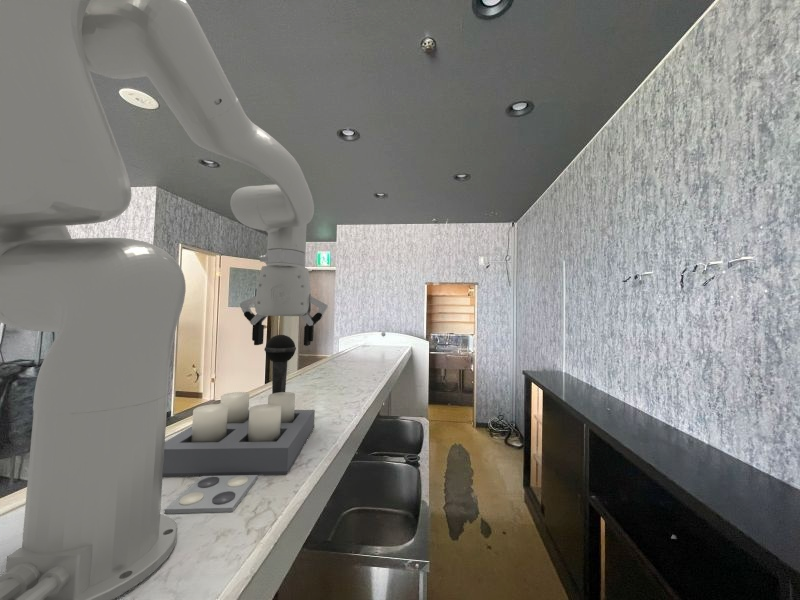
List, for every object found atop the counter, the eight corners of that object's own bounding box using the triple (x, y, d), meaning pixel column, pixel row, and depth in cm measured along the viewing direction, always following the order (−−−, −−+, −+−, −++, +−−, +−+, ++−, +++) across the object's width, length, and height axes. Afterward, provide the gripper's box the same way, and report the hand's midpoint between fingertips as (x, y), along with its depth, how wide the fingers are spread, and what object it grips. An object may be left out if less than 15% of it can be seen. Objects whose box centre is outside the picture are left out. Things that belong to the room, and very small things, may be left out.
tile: (232, 511, 38) (232, 505, 38) (164, 513, 38) (164, 507, 38) (257, 478, 46) (257, 473, 46) (201, 479, 46) (202, 474, 46)
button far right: (290, 424, 59) (291, 398, 60) (263, 424, 59) (264, 398, 59) (296, 416, 64) (297, 392, 65) (272, 416, 64) (273, 392, 64)
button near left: (217, 444, 50) (218, 412, 50) (184, 444, 49) (186, 412, 50) (231, 432, 55) (233, 404, 55) (202, 433, 54) (203, 404, 55)
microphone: (271, 430, 66) (275, 335, 67) (255, 423, 70) (259, 334, 71) (299, 422, 71) (302, 334, 73) (282, 416, 75) (285, 333, 77)
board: (287, 474, 47) (288, 447, 48) (149, 477, 46) (151, 449, 46) (314, 428, 67) (314, 409, 68) (218, 429, 66) (219, 410, 66)
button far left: (241, 425, 59) (242, 398, 59) (214, 425, 58) (215, 398, 59) (252, 416, 64) (253, 392, 64) (227, 416, 63) (228, 392, 64)
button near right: (274, 443, 50) (275, 412, 51) (242, 443, 50) (244, 412, 50) (283, 432, 55) (284, 403, 56) (255, 432, 55) (256, 403, 55)
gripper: (234, 256, 60) (230, 346, 59) (325, 259, 61) (323, 347, 60) (250, 263, 67) (246, 343, 66) (331, 266, 69) (328, 344, 67)
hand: (283, 344), depth 63 cm, fingers open, 9 cm apart
